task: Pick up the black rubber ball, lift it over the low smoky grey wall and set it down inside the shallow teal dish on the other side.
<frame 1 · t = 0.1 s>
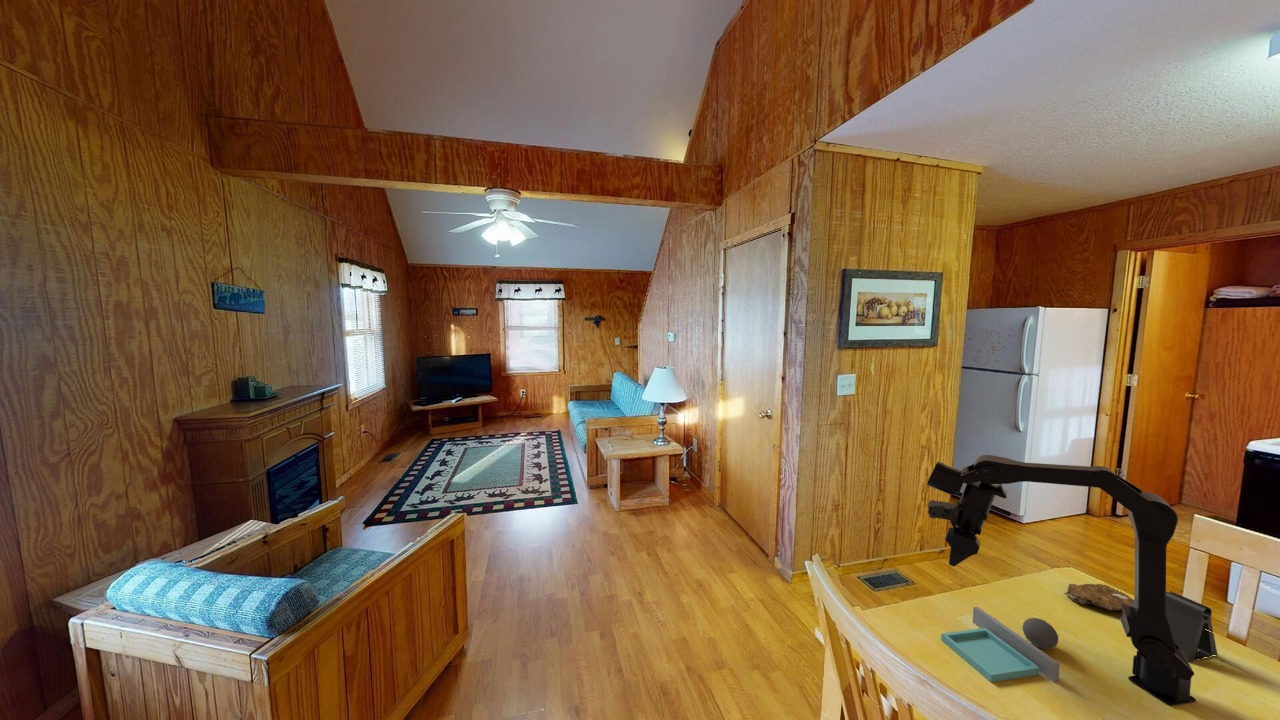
hand: (952, 557, 106), 15 cm above the table, tool pointing down, fingers open, 9 cm apart
low wall: (1011, 649, 95), on the table
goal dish: (987, 656, 93), on the table
ball: (1040, 633, 96), point 3 cm above the table
decorative rock: (1099, 605, 110), on the table
phone stand: (1182, 649, 95), on the table
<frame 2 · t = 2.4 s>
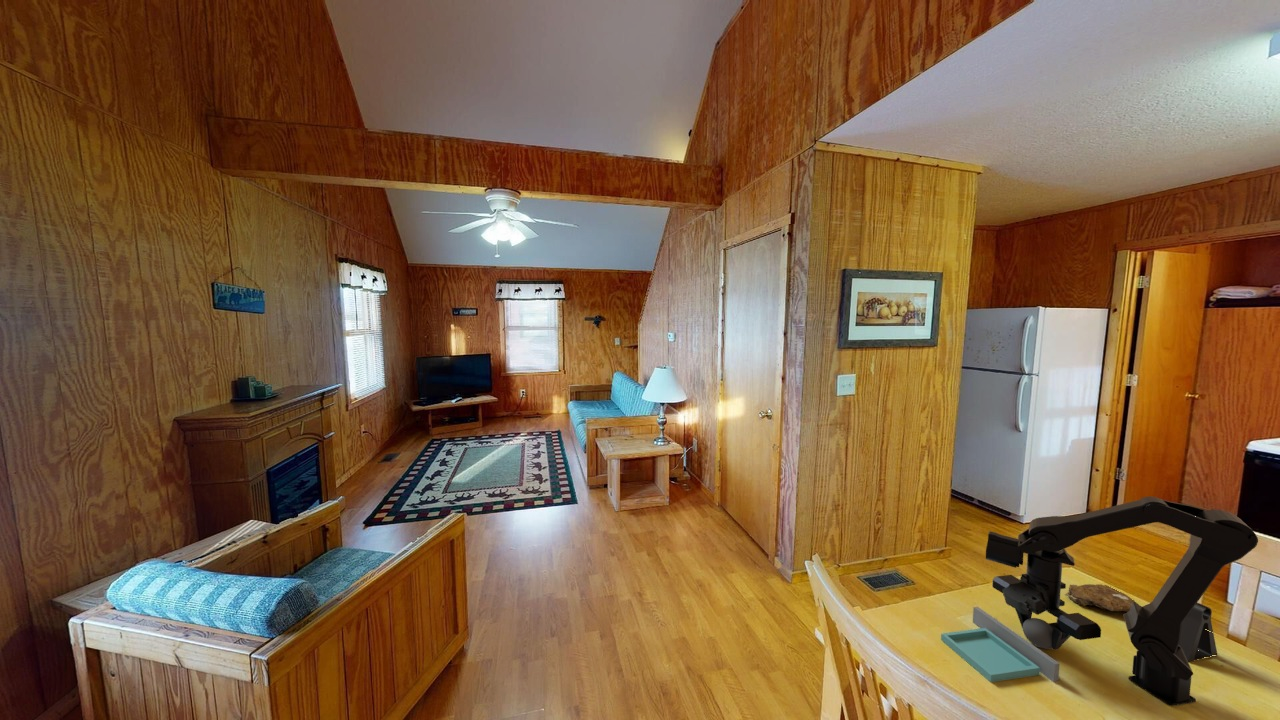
hand: (1039, 639, 96), 2 cm above the table, tool pointing down, fingers closed on ball, 6 cm apart
ball: (1040, 633, 96), point 3 cm above the table, touching gripper
everything else where it was.
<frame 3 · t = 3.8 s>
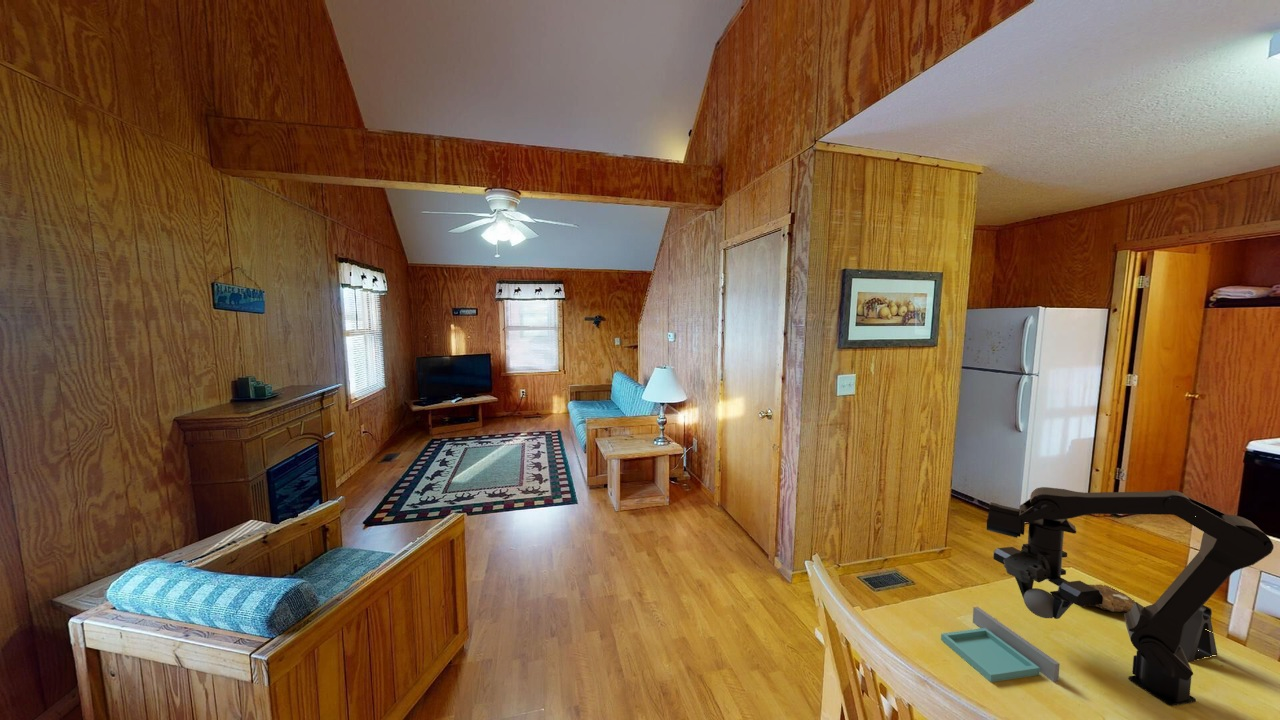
hand: (1040, 608, 96), 9 cm above the table, tool pointing down, fingers closed on ball, 6 cm apart
ball: (1041, 603, 95), point 10 cm above the table, touching gripper
everything else where it was.
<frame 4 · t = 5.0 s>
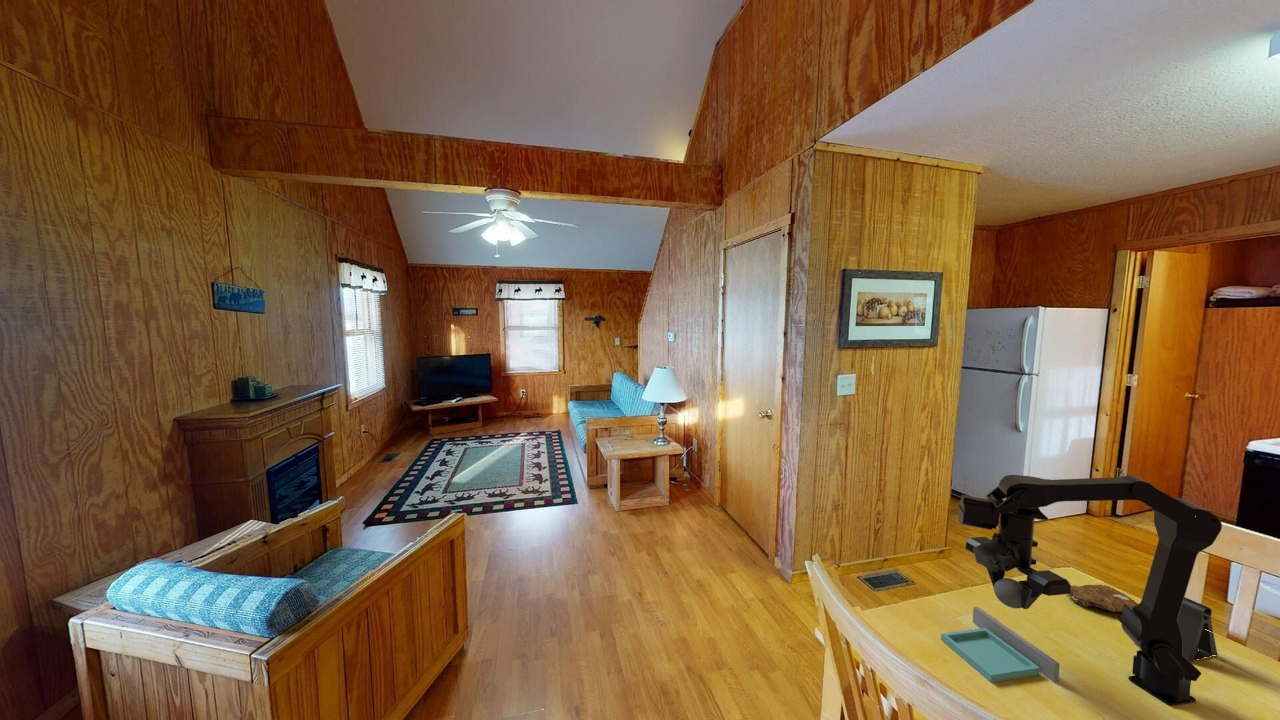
hand: (1010, 599, 94), 12 cm above the table, tool pointing down, fingers closed on ball, 6 cm apart
ball: (1011, 593, 94), point 14 cm above the table, touching gripper
everything else where it was.
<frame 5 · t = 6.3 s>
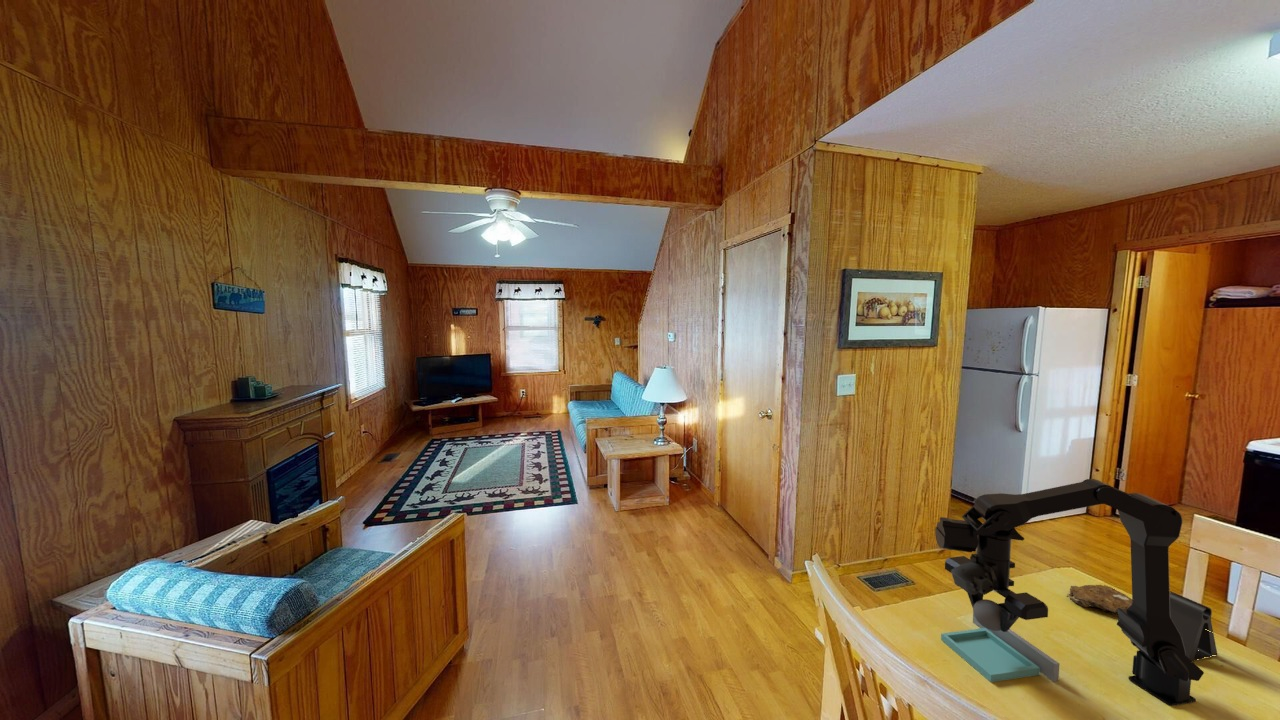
hand: (989, 621, 92), 8 cm above the table, tool pointing down, fingers closed on ball, 6 cm apart
ball: (990, 614, 92), point 10 cm above the table, touching gripper
everything else where it was.
when the fingers open (3 cm above the table, at t = 7.6 s): ball drops 2 cm, resting on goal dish.
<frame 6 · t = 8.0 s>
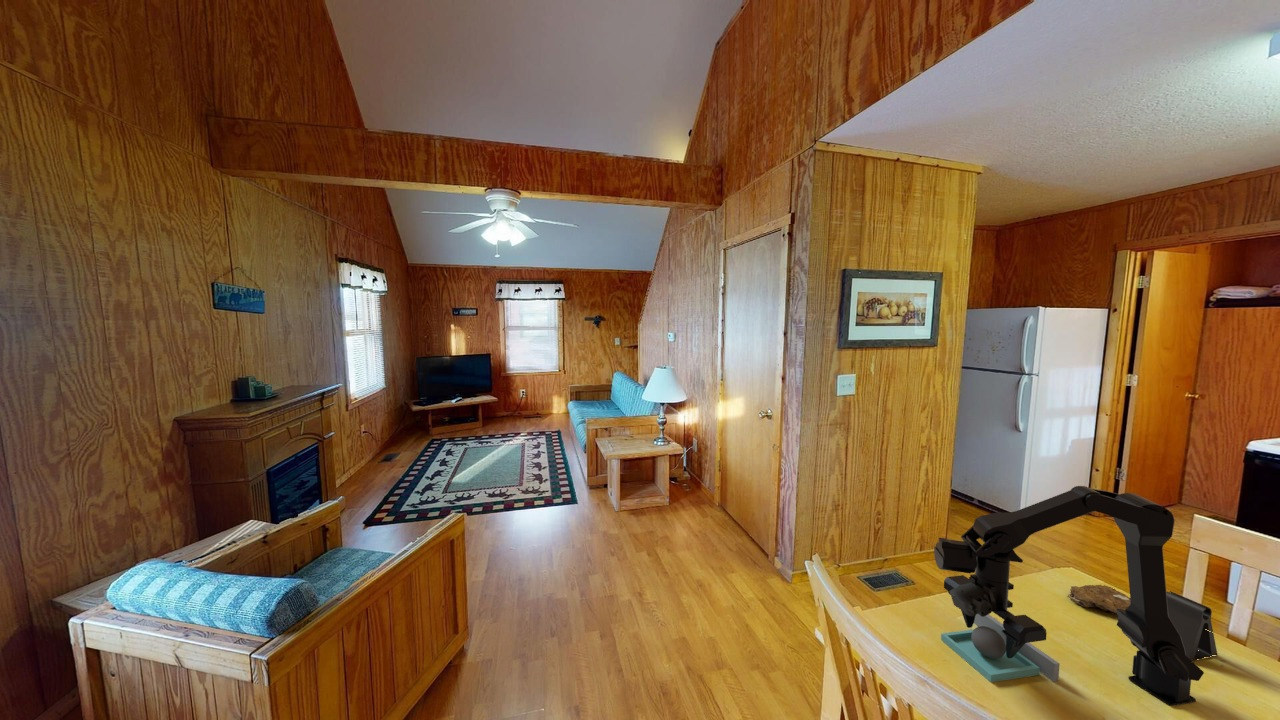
hand: (988, 641, 93), 3 cm above the table, tool pointing down, fingers open, 9 cm apart
ball: (988, 642, 93), point 3 cm above the table, touching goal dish
everything else where it was.
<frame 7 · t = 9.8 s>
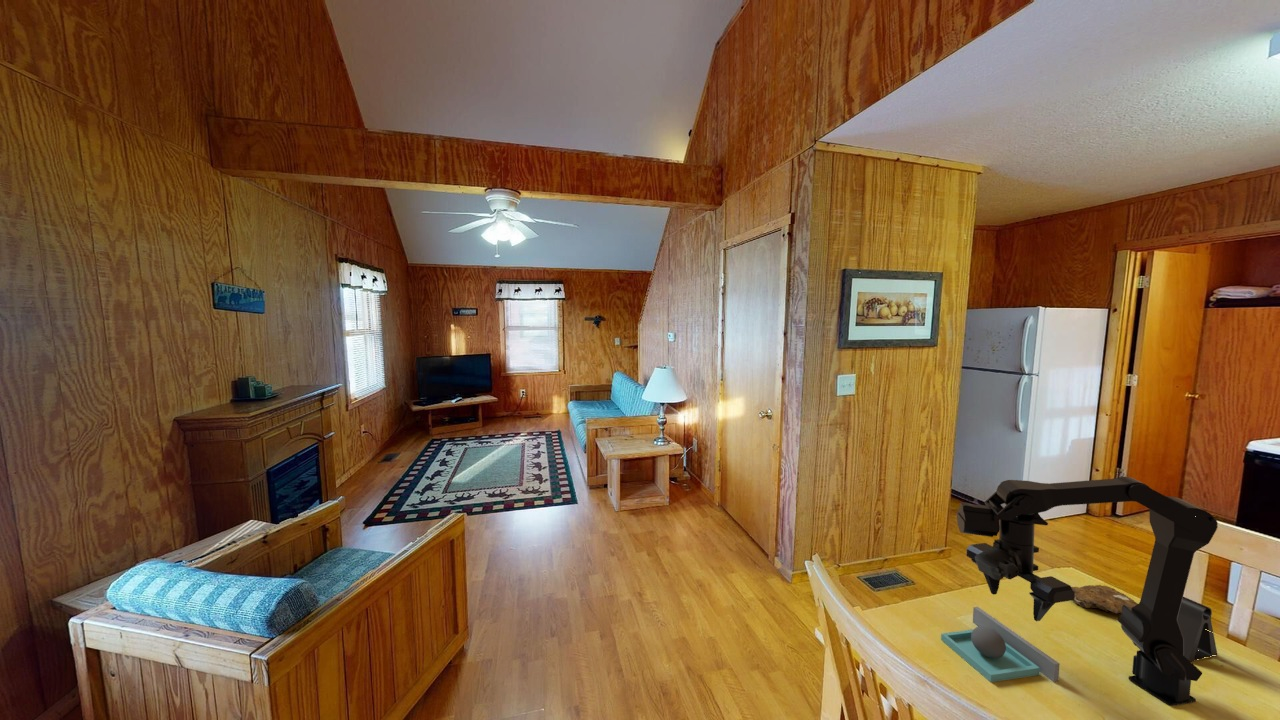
hand: (1014, 606, 93), 12 cm above the table, tool pointing down, fingers open, 9 cm apart
nothing on the table moved.
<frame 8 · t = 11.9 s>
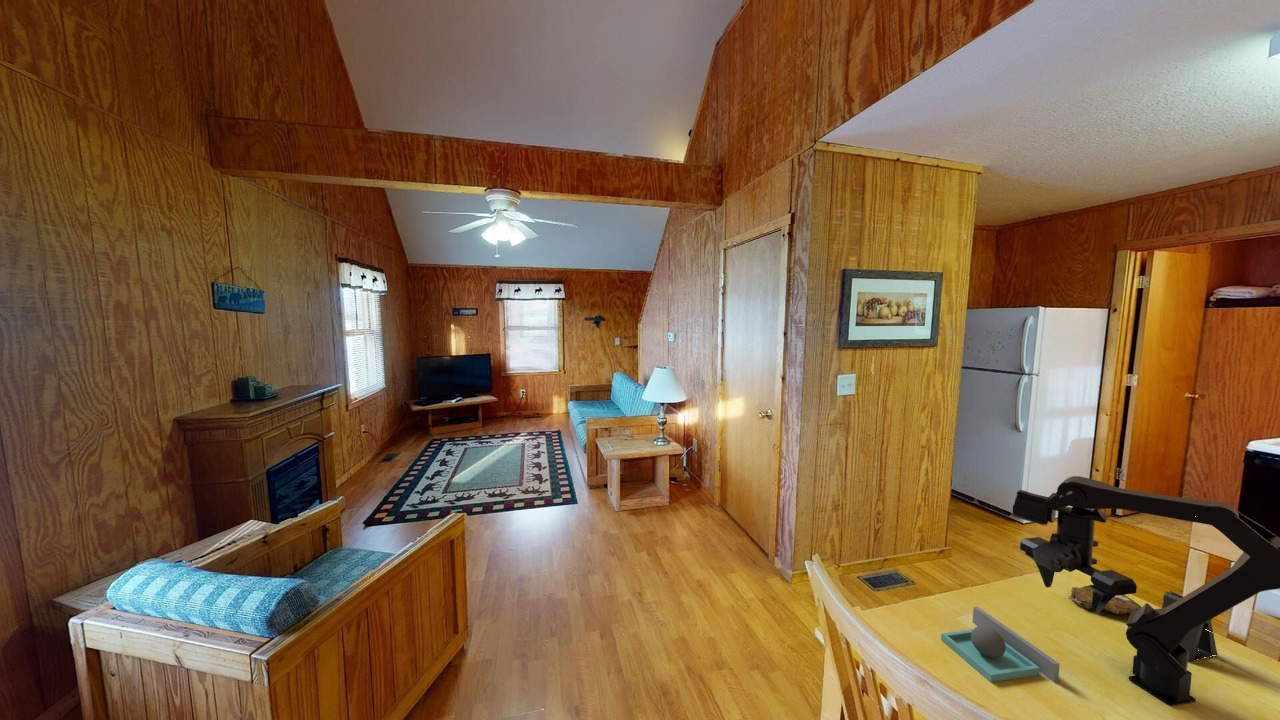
hand: (1070, 599, 94), 12 cm above the table, tool pointing down, fingers open, 9 cm apart
at the end: ball 0.1 cm off-centre on the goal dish, point 3.4 cm above the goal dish's base; ball moved 15.0 cm from its start; the gripper is holding nothing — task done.
